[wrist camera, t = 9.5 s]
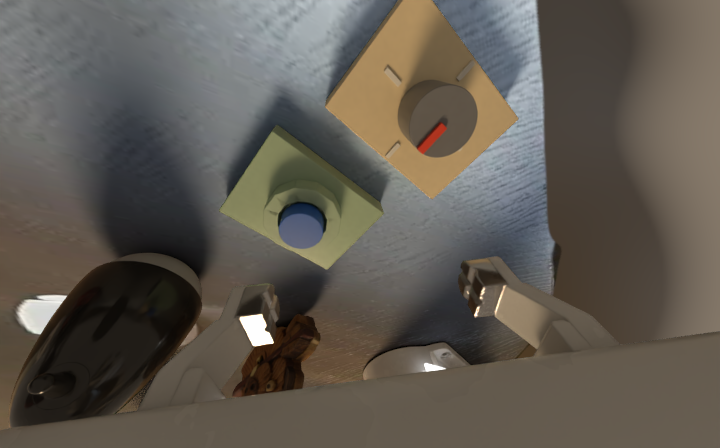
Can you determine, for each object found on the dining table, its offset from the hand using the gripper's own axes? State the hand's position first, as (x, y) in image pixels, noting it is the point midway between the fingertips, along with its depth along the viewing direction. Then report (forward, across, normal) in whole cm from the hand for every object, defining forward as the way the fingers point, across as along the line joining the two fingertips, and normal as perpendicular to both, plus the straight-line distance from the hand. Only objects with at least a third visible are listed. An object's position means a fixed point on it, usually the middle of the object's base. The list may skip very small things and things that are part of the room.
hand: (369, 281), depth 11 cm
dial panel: (+15, -6, -4) cm, 17 cm away
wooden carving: (+15, +12, +24) cm, 31 cm away
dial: (+12, -6, -4) cm, 14 cm away
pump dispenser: (+15, +21, +11) cm, 29 cm away
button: (+12, +5, +4) cm, 13 cm away
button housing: (+15, +4, +4) cm, 16 cm away
